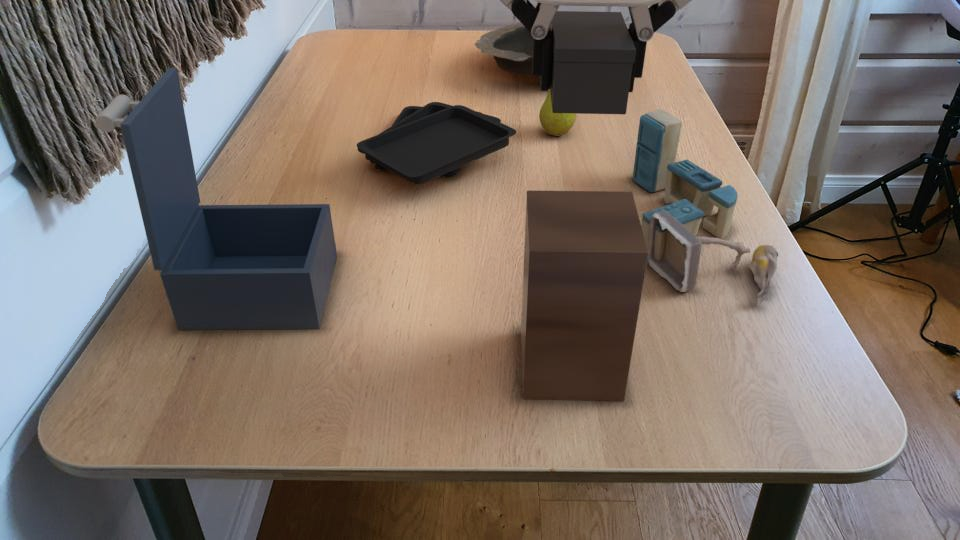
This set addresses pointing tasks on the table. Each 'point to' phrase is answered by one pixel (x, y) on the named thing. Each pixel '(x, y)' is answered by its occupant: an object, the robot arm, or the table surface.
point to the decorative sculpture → (686, 252)
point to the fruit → (555, 119)
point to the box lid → (158, 161)
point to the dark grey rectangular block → (590, 63)
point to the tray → (435, 141)
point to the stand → (580, 293)
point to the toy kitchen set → (678, 182)
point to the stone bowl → (510, 48)
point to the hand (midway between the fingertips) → (585, 82)
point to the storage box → (252, 267)
